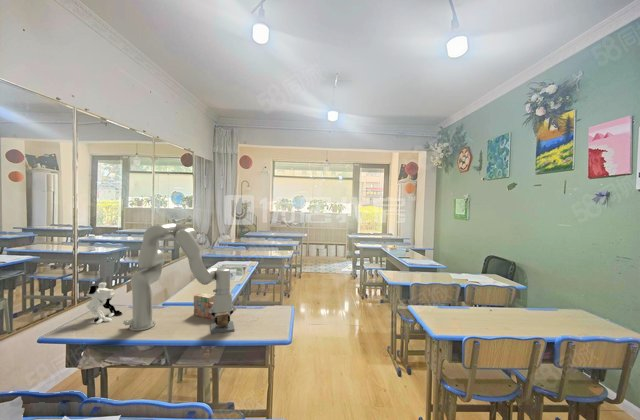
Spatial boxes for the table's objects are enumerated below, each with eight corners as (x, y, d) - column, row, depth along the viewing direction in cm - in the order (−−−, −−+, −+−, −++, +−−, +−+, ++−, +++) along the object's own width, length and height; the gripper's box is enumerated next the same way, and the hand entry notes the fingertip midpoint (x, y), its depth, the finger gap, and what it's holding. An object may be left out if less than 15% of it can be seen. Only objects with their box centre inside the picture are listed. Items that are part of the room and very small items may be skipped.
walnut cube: (217, 327, 164) (217, 317, 164) (217, 323, 169) (217, 313, 169) (227, 325, 166) (227, 315, 166) (227, 322, 171) (227, 312, 171)
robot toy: (105, 324, 170) (104, 289, 170) (80, 324, 170) (79, 289, 170) (126, 312, 189) (126, 280, 189) (104, 312, 189) (103, 280, 188)
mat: (211, 333, 160) (211, 332, 160) (211, 325, 171) (211, 323, 171) (234, 330, 164) (234, 329, 164) (232, 322, 176) (232, 320, 176)
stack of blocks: (227, 317, 184) (227, 297, 184) (219, 320, 178) (219, 300, 178) (201, 311, 193) (201, 292, 193) (193, 314, 187) (193, 295, 187)
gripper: (206, 294, 161) (206, 327, 161) (239, 291, 167) (238, 324, 167) (206, 290, 168) (206, 322, 168) (238, 288, 174) (237, 319, 174)
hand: (222, 322), depth 168 cm, fingers closed on walnut cube, 5 cm apart
